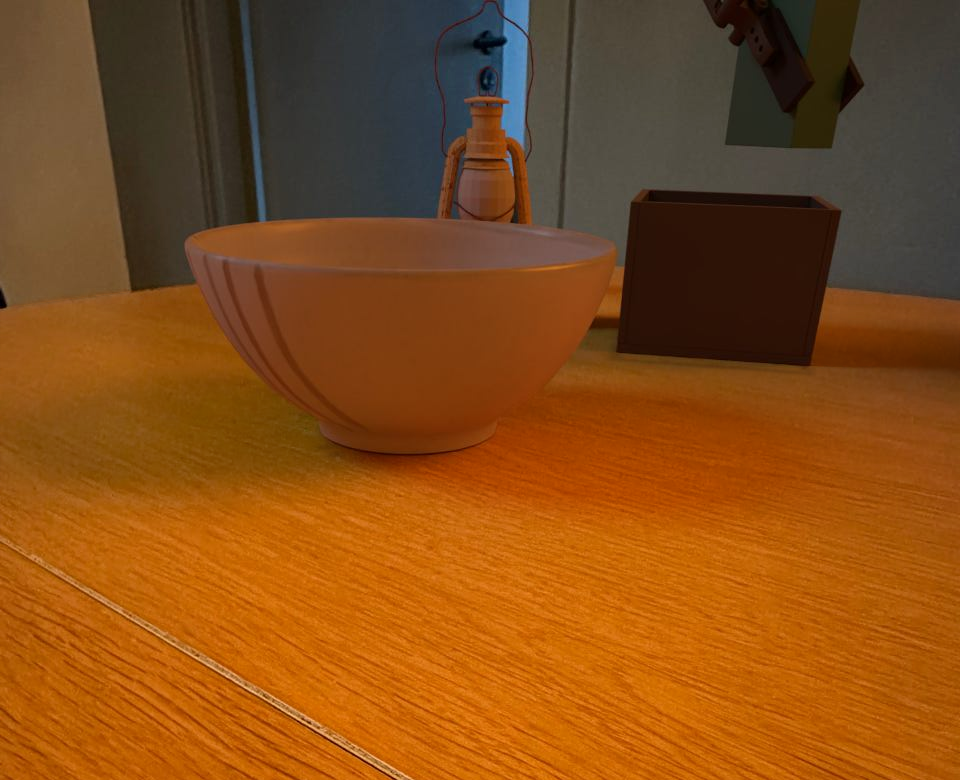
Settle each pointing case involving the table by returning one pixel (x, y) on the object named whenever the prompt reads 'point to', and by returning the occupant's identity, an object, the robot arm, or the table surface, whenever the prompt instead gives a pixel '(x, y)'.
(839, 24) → the block
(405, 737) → the table surface
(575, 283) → the decorative bowl
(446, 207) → the lantern
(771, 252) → the waste bin
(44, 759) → the table surface
